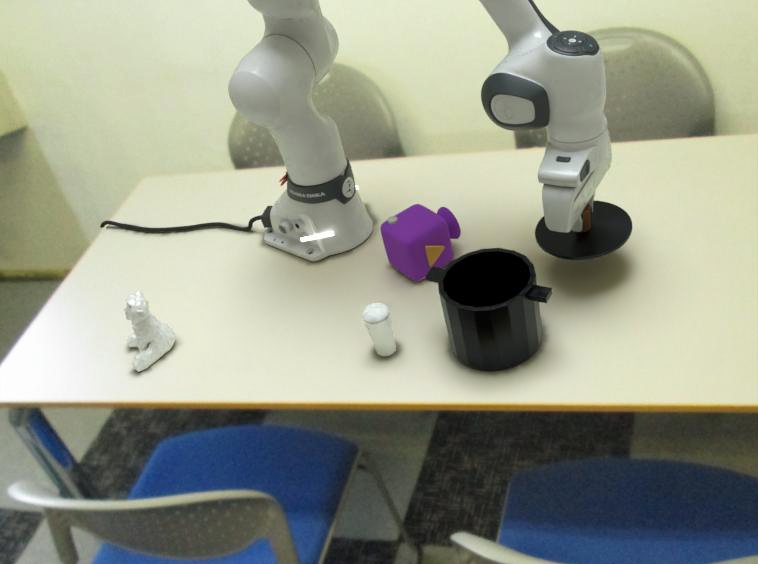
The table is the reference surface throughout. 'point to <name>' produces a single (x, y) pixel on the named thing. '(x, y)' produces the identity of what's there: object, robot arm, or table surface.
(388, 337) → the milkshake
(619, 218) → the pot lid
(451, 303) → the pot
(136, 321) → the sitting furry creature
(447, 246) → the toy camera
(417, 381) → the table surface
